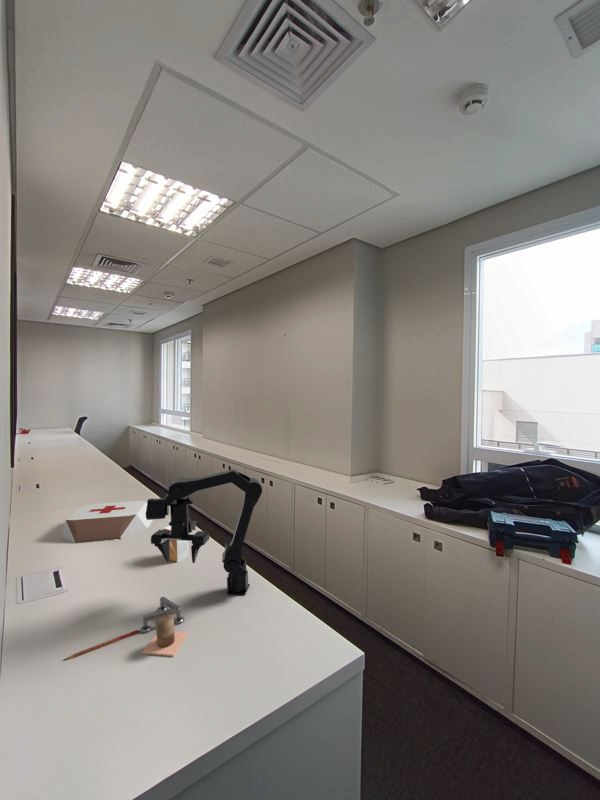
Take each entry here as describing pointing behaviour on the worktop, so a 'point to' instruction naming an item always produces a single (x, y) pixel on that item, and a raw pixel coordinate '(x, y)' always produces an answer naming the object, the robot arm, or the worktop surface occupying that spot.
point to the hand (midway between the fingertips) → (181, 562)
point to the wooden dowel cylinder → (165, 631)
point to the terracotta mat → (166, 651)
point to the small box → (177, 548)
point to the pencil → (102, 645)
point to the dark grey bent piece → (162, 614)
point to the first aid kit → (106, 521)
